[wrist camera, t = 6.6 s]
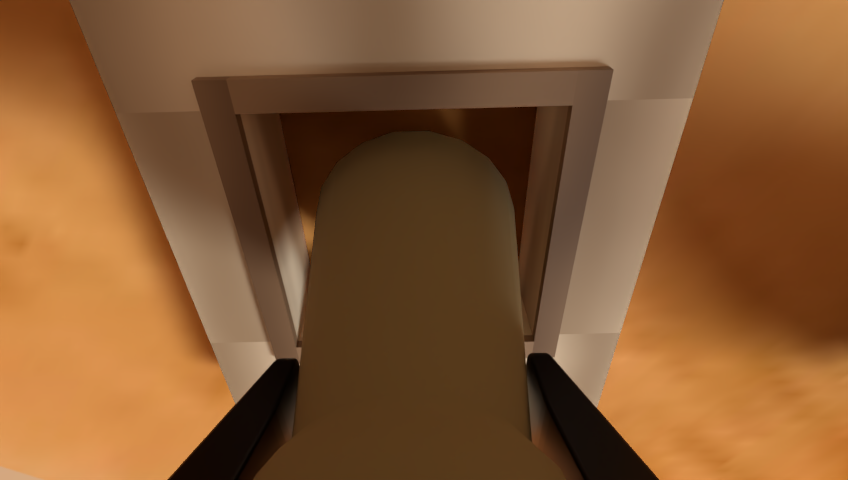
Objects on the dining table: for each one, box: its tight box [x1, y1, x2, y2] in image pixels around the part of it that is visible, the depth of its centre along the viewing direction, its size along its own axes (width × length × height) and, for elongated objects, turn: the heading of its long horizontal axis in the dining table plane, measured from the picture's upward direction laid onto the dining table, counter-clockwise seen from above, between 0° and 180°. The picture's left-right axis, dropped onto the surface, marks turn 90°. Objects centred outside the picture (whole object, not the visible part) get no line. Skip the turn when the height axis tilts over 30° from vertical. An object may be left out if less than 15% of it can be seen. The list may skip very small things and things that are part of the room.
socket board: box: [69, 0, 724, 408], centre depth 14 cm, size 14×19×3 cm
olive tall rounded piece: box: [253, 131, 566, 480], centre depth 9 cm, size 6×6×11 cm
